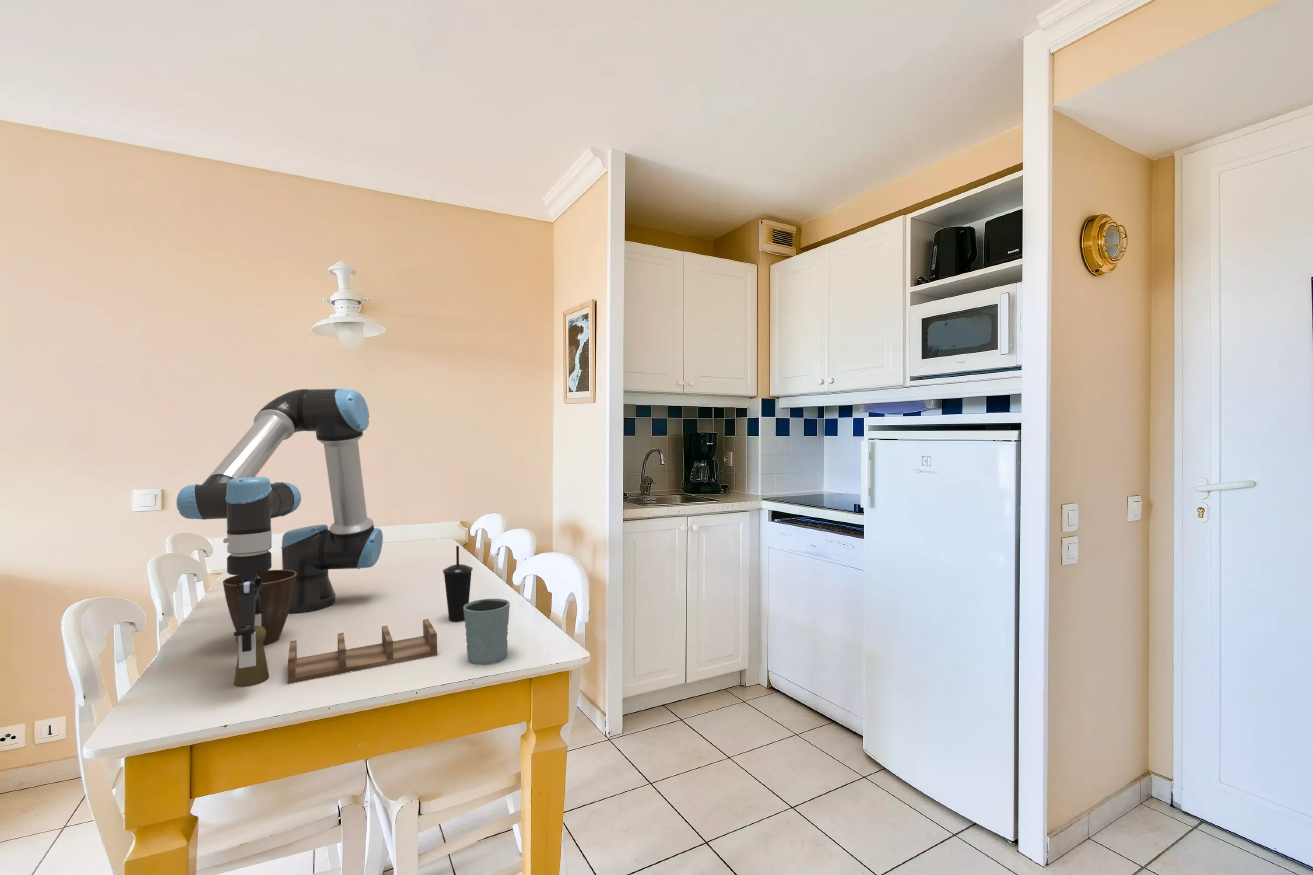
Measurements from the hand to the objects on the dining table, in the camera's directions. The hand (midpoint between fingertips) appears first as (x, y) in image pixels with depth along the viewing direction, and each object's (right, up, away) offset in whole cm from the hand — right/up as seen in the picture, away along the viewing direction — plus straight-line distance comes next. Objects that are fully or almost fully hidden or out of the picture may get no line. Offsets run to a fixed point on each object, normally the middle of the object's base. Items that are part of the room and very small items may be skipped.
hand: (250, 655), depth 120 cm
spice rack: (+18, -5, +11) cm, 22 cm away
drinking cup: (+30, -5, +38) cm, 49 cm away
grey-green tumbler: (+45, -5, +12) cm, 47 cm away
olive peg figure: (0, -6, 0) cm, 6 cm away
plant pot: (-13, -5, +23) cm, 27 cm away
